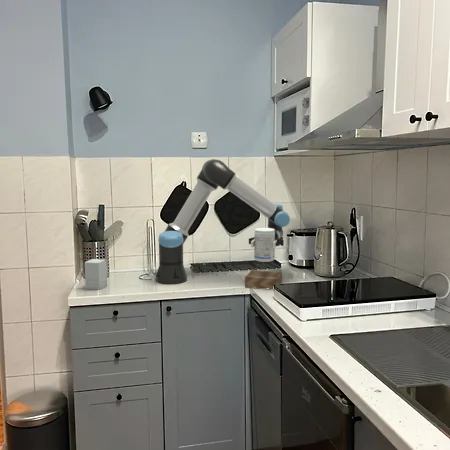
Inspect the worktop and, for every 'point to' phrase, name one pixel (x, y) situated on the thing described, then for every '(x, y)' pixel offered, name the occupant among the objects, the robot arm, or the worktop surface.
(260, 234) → the supplement tub
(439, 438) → the worktop surface
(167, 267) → the robot arm
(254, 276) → the walnut block
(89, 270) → the supplement box
